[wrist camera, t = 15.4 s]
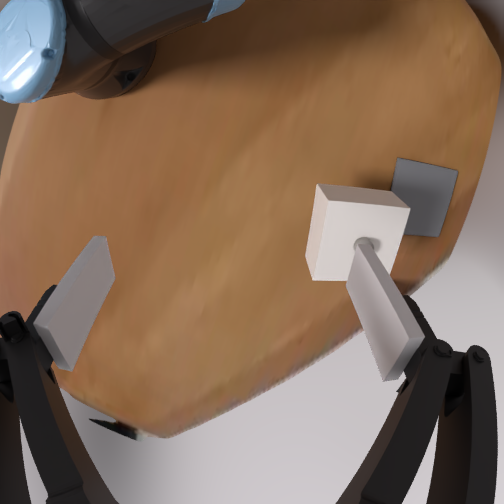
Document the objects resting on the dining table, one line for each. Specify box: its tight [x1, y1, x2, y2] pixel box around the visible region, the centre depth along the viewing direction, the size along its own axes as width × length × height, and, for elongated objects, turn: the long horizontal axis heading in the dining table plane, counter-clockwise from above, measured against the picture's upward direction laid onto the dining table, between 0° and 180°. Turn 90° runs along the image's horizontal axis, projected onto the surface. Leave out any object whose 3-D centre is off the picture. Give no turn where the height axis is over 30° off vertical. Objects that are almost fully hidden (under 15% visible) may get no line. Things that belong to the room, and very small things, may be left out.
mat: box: [390, 158, 458, 237], centre depth 47 cm, size 14×14×1 cm
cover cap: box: [305, 183, 410, 281], centre depth 38 cm, size 11×11×7 cm
